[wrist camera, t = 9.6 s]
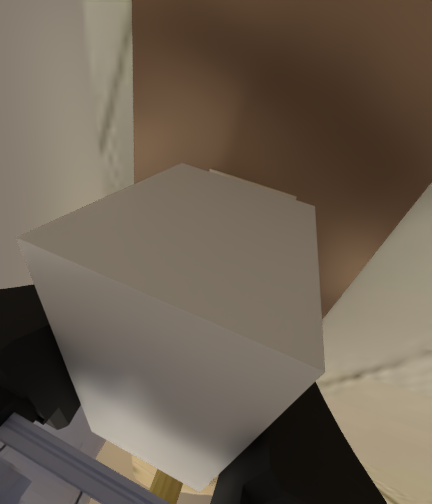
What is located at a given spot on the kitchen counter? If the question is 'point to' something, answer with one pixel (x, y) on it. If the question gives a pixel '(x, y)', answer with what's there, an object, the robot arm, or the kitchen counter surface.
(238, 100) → the pin board
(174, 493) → the vase
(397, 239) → the kitchen counter surface
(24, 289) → the robot arm
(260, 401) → the block
